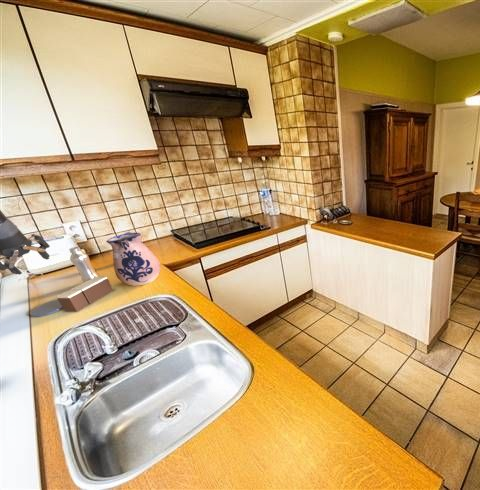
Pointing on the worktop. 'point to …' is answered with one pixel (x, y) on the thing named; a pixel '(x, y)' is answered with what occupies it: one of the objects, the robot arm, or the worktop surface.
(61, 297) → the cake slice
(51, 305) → the plate
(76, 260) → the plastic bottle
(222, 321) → the worktop surface
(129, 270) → the ceramic pitcher
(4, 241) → the robot arm
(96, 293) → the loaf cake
